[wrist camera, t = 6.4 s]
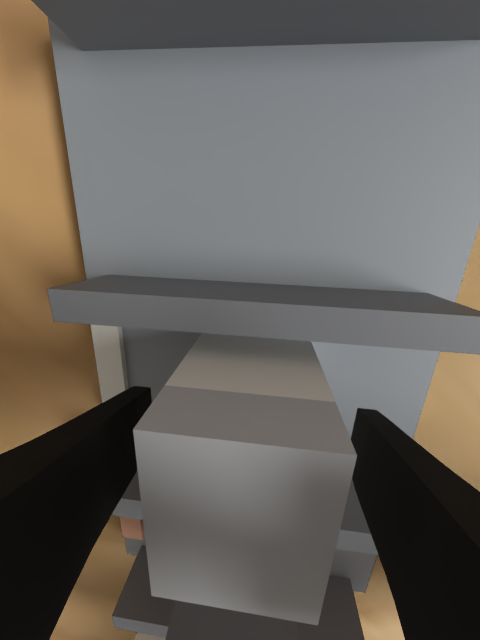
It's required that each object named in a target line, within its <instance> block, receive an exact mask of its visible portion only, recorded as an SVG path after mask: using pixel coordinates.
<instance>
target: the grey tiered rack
mask: <svg viewBox="0 0 480 640" xmlns="http://www.w3.org/2000/svg"><path fill="white" fill-rule="evenodd" d="M32 1H33V2H34V3H35V4H36V5H37V6H38V7H39V8H40V9H41V10H42V11H43V12H44V13H45V14H46V15H47V16H48V22H49V28H50V35H51V42H52V49H53V56H54V62H55V69H56V76H57V83H58V89H59V96H60V103H61V110H62V117H63V123H64V130H65V137H66V144H67V150H68V157H69V164H70V171H71V178H72V184H73V191H74V198H75V205H76V211H77V218H78V225H79V232H80V239H81V245H82V252H83V259H84V266H85V272H86V279H87V280H83V281H79V282H75V283H70V284H66V285H61V286H57V287H53V288H48V289H47V291H48V296H49V301H50V306H51V311H52V316H53V321H54V322H65V323H78V324H90V325H91V332H92V339H93V345H94V352H95V358H96V365H97V372H98V378H99V385H100V391H101V398H102V403H103V402H105V401H107V400H109V399H110V398H112V397H114V396H116V395H118V394H119V393H121V392H123V391H125V390H127V389H129V388H131V387H133V386H141V387H151V398H152V402H153V401H154V399H155V398H156V397H157V395H158V394H159V392H160V391H161V390H162V388H163V387H164V385H165V384H166V383H167V381H168V380H169V378H170V377H171V376H172V374H173V373H174V371H175V370H176V369H177V367H178V366H179V364H180V363H181V362H182V360H183V359H184V357H185V356H186V355H187V353H188V352H189V350H190V349H191V348H192V346H193V345H194V343H195V342H196V340H197V339H198V338H199V336H200V335H201V333H208V334H221V335H234V336H247V337H260V338H273V339H286V340H299V341H311V342H312V345H313V347H314V350H315V352H316V355H317V357H318V360H319V362H320V365H321V367H322V370H323V372H324V375H325V377H326V380H327V382H328V384H329V387H330V389H331V392H332V394H333V397H334V399H335V402H336V404H337V407H338V409H339V412H340V414H341V417H342V419H343V422H344V424H345V427H346V429H347V432H348V434H349V437H350V439H351V435H352V431H353V426H354V421H355V417H356V412H357V408H363V409H373V410H377V411H379V412H380V413H381V414H383V415H384V416H385V417H387V418H388V419H389V420H390V421H391V422H393V423H394V424H395V425H396V426H398V427H399V428H400V429H401V430H402V431H404V432H405V433H406V434H407V435H408V436H410V437H411V438H412V439H413V437H414V434H415V431H416V428H417V424H418V421H419V418H420V415H421V411H422V408H423V405H424V402H425V398H426V395H427V392H428V389H429V385H430V382H431V379H432V376H433V373H434V369H435V366H436V363H437V360H438V356H439V353H440V351H441V352H454V353H467V354H480V311H478V310H475V309H472V308H469V307H466V306H464V305H461V304H458V303H455V301H456V298H457V295H458V292H459V289H460V285H461V282H462V279H463V276H464V272H465V269H466V266H467V263H468V259H469V256H470V253H471V250H472V247H473V243H474V240H475V237H476V234H477V230H478V227H479V224H480V0H32ZM112 515H113V516H119V517H120V524H121V530H122V537H125V543H126V550H127V554H131V555H137V557H136V559H135V562H134V564H133V567H132V569H131V571H130V574H129V576H128V579H127V581H126V583H125V586H124V588H123V591H122V593H121V595H120V598H119V600H118V603H117V605H116V607H115V610H114V612H113V615H112V619H113V624H114V628H117V629H122V630H127V631H133V632H138V633H143V634H148V635H153V636H159V637H164V638H166V635H167V631H168V627H169V623H170V619H171V615H172V612H173V608H174V604H175V600H172V599H166V598H161V597H155V596H151V587H150V578H149V569H148V560H147V551H146V542H145V533H144V524H143V515H142V506H141V497H140V488H139V479H138V470H137V472H136V474H135V475H134V477H133V479H132V481H131V482H130V484H129V486H128V487H127V489H126V491H125V493H124V494H123V496H122V498H121V499H120V501H119V503H118V504H117V506H116V508H115V510H114V511H113V513H112ZM377 555H378V552H377V549H376V547H375V544H374V541H373V538H372V536H371V533H370V530H369V527H368V525H367V522H366V519H365V516H364V514H363V511H362V508H361V505H360V502H359V500H358V497H357V494H356V491H355V488H354V484H353V480H351V484H350V489H349V493H348V497H347V502H346V506H345V510H344V514H343V519H342V523H341V527H340V532H339V536H338V540H337V545H336V549H335V553H334V558H333V562H332V566H331V571H330V575H329V579H328V584H327V588H326V592H325V597H324V601H323V605H322V610H321V614H320V618H319V623H318V625H312V624H307V623H301V622H297V635H298V640H364V636H363V631H362V627H361V623H360V619H359V614H358V610H357V606H356V602H355V597H354V593H353V591H358V592H364V593H365V592H366V589H367V586H368V583H369V579H370V576H371V573H372V570H373V567H374V563H375V560H376V557H377Z"/></svg>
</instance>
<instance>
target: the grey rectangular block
mask: <svg viewBox="0 0 480 640" xmlns="http://www.w3.org/2000/svg"><path fill="white" fill-rule="evenodd" d="M133 434H134V443H135V452H136V461H137V470H138V479H139V488H140V497H141V506H142V515H143V524H144V533H145V542H146V551H147V560H148V569H149V578H150V587H151V596H155V597H161V598H166V599H172V600H177V601H183V602H189V603H194V604H200V605H206V606H211V607H217V608H222V609H228V610H234V611H239V612H245V613H251V614H256V615H262V616H267V617H273V618H279V619H284V620H290V621H295V622H301V623H307V624H312V625H318V623H319V618H320V614H321V610H322V605H323V601H324V597H325V592H326V588H327V584H328V579H329V575H330V571H331V566H332V562H333V558H334V553H335V549H336V545H337V540H338V536H339V532H340V527H341V523H342V519H343V514H344V510H345V506H346V502H347V497H348V493H349V489H350V484H351V480H352V476H353V471H354V467H355V463H356V458H357V454H356V452H355V449H354V447H353V444H352V442H351V439H350V437H349V434H348V432H347V429H346V427H345V424H344V422H343V419H342V417H341V414H340V412H339V409H338V407H337V404H336V402H335V399H334V397H333V394H332V392H331V389H330V387H329V384H328V382H327V380H326V377H325V375H324V372H323V370H322V367H321V365H320V362H319V360H318V357H317V355H316V352H315V350H314V347H313V345H312V342H311V341H299V340H286V339H273V338H260V337H247V336H234V335H221V334H208V333H201V335H200V336H199V338H198V339H197V340H196V342H195V343H194V345H193V346H192V348H191V349H190V350H189V352H188V353H187V355H186V356H185V357H184V359H183V360H182V362H181V363H180V364H179V366H178V367H177V369H176V370H175V371H174V373H173V374H172V376H171V377H170V378H169V380H168V381H167V383H166V384H165V385H164V387H163V388H162V390H161V391H160V392H159V394H158V395H157V397H156V398H155V399H154V401H153V402H152V404H151V405H150V406H149V408H148V409H147V411H146V412H145V413H144V415H143V416H142V418H141V419H140V420H139V422H138V423H137V425H136V426H135V427H134V429H133Z"/></svg>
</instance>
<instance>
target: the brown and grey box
mask: <svg viewBox="0 0 480 640" xmlns="http://www.w3.org/2000/svg"><path fill="white" fill-rule="evenodd" d="M165 640H298V635H297V622H295V621H290V620H284V619H279V618H273V617H267V616H262V615H256V614H251V613H245V612H239V611H234V610H228V609H222V608H217V607H211V606H206V605H200V604H194V603H189V602H183V601H177V600H175V604H174V608H173V612H172V615H171V619H170V623H169V627H168V631H167V635H166V638H165Z"/></svg>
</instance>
